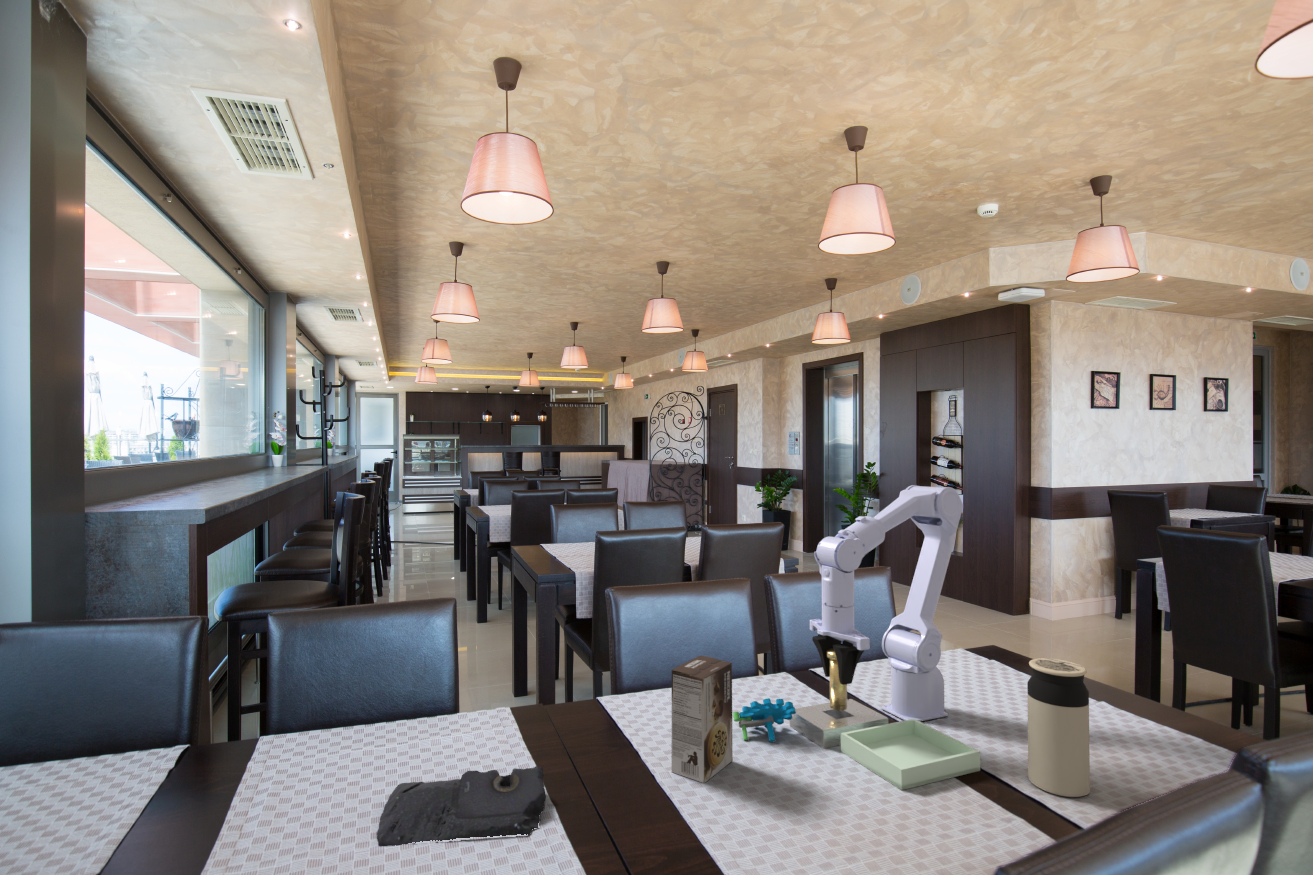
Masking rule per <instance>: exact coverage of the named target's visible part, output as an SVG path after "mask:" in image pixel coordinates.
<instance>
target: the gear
mask: <svg viewBox="0 0 1313 875" xmlns="http://www.w3.org/2000/svg"><path fill="white" fill-rule="evenodd" d="M795 709H796V708H795V706H794V703H793V702H792V701H786V702H784V698H777V699H775V703H772V701H771V697H770V698H769V697H767V698H764V699H763V700H762V703H760V702H758V701H756V700H753V701H751V702H750V706H747V705H746V706H745V705H744V706H742V709H741V710H742V712H740V711H734V712H732V717H733V721H734V722H737V723H738V726H739V728H741V730H742V736H743V737H742V738H743V741H748V740H749V737H748V731H747V728H759V727H763V726H764V727H765V728H766V729H767V735H768V742H769V743H775V742H776V736H775V731H774V724H777V725H780V726H781V725H782V724H784V723H785V720H788V721H790V720H791V719H792V714H796V711H795Z"/></svg>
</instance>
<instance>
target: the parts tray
mask: <svg viewBox="0 0 1313 875" xmlns="http://www.w3.org/2000/svg"><path fill="white" fill-rule="evenodd" d="M840 752H841V753H843V754H844V755H846V756H847V757H849V758H850V759H852V760H854V761H855V762H857V763H858V764H859V765H861V766H863V767H864V768H866V769H867V770H869V771H871V772H872V773H874V774H875V775H877V776H879V777H880V778H881V779H884V780H885V781H886V782H888V783H890V784H891V785H892V786H894V787H896V788H897V789H898V790H901V791H904V790H908V789H912V788H915V787H919V786H924V785H928V784H932V783H935V782H939V781H940V782H941V781H944V780H949V779H952V778H956V777H959V776H960V777H961V776H963V775H967V774H972V773H977V772H980V771H981V751H980V750H978V749H976V748H975V747H972V746H970V745H968V744H966V743H964V742H962V741H960V740H958V739H956V738H954V737H952V736H950V735H948V734H946V733H944V732H942V731H939V730H938V729H936V728H934V727H932V726H930V725H927V724H926V723H924V722H923V721H918V720H916V719H910V720H901V721H896V722H890V723H888V724H885V725H880V726H875V727H870V728H865V729H859V730H854V731H849V732H844V733H841V745H840Z"/></svg>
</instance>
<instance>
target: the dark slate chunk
mask: <svg viewBox="0 0 1313 875" xmlns="http://www.w3.org/2000/svg"><path fill="white" fill-rule="evenodd" d="M544 778H545V774H544V769H543V768H542V766H538V765H537V766H533V767H527V768H516V767H515V768H513V769H512V772H511V774H507V775H500V773H499V771H498V770H497V769H490V770H488V771H483V772H482V771H480V770H467V771H466V772H464V773H463V774H462V775H461V777H460V778H459V779H458V778H457V779H449V780H437V781H436V780H435V781H428V782H424V781H413V782H401V783H399V784H398V785H396V787H395V788H394V790H393V791H392V792H391V793H390V795H389V797H388V799H387V801H386V803H385V805H384V806H383V810H382V813H381V815H380V818H379V823H378V828H377V831H376V840H377V841H378V842H377V844H378V846H379V847H388V846H389V847H396V846H398V847H399V846H403V845H402V844H405V845H409V844H408V843H412V842H415V843H416V842H420V841H422V842H423V841H430V840H432V841H433V840H435V841H436V840H438V841H439V840H440V841H442V840H450V839H452V840H453V839H456V838H470V837H487V836H490V837H493V836H500V835H502V836H506V835H517V834H521V835H524V834H526V835H527V834H530V833H531V834H532V831H531V830H532V829H534V828H538V823H539V815H540V816H541V814H542V813H541V812H544V810H545V804H546V803H545V802H546V799H547V795H546V794H547V793H546V788H545V781H544V780H545V779H544ZM531 834H530V835H531ZM395 845H396V846H395Z"/></svg>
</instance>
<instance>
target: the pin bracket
mask: <svg viewBox="0 0 1313 875" xmlns="http://www.w3.org/2000/svg"><path fill="white" fill-rule="evenodd" d="M795 711H796V714H792V719H791V720H789V727H790V728H792V729H793V730H795V731H797V732H798V733H799V734H801V735H802V736H804V737H806V738H807V739H808V740H810V741H811V742H813V743H815V744H816V745H817V746H819V747H820V748H822V749H827V748H832V747H836V746H841V733H844V732H849V731H854V730H859V729H865V728H870V727H875V726H880V725H885V724H889V717H887V716H885V715H884V714H881V713H880V712H877V711H876V710H874V709H872V708H870V707H868V706H866V705H864V704H863V703H860V702H859V701H856V700H855V699H852V698H849V699H848V698H847V709H846V710H834V709H832V708H830V702H826V703H825V702H824V703H820V704H813V705H807V706H802V707H797V708H795Z"/></svg>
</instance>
